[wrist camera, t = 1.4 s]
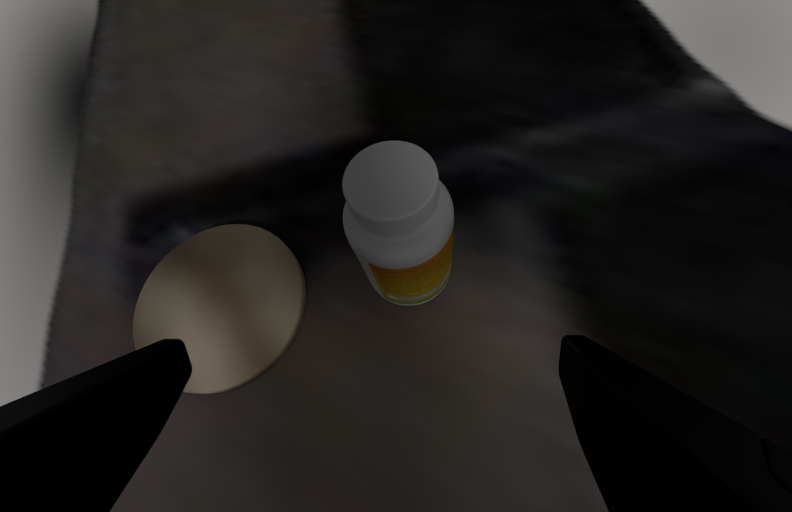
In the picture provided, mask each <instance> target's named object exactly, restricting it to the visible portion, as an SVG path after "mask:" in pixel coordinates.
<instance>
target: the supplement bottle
mask: <svg viewBox="0 0 792 512" xmlns="http://www.w3.org/2000/svg"><path fill="white" fill-rule="evenodd" d="M342 188H343V194H344V197H345V199H346V203H345V205H344V210H343V226H344V231H345V234H346V237H347V239H348V242H349V244H350V246H351V247H352V249H353V251H354V253H355V255H356V257H357V259H358V260H359V262H360V264H361V266H362V268H363V270H364V272H365V274H366V276H367V277H368V279H369V281H370V283H371V285H372V286H373V288H374V289H375V290H376V292H377V293H378V294H379V295H380V296H382V297H383V298H384V299H386V300H388V301H390V302H392V303H395V304H398V305H404V306H414V305H419V304H423V303H425V302H428V301H429V300H431V299H433V298H434V297H436V296H437V295H438V294H439V293H440V292H441V291H442V290H443V289H444V287H445V286H446V284H447V282H448V280H449V277H450V274H451V268H452V249H453V229H454V209H453V203H452V200H451V197H450V194H449V192H448V190H447V189H446V187H445V186H444V185H443V183H442V182H441V181H440V180H439V177H438V170H437V167H436V164H435V162H434V160H433V159H432V157H431V156H430V155H429V154H428V153H427V152H426V151H425V150H424V149H422V148H421V147H419V146H417V145H415V144H412V143H409V142H405V141H383V142H379V143H376V144H373V145H371V146H369V147H367V148H365V149H363V150H362V151H361V152H359V153H358V154H357V155H356V156H355V157H354V158H353V159H352V160H351V161H350V163H349V164H348V166H347V168H346V170H345V173H344V176H343V182H342Z"/></svg>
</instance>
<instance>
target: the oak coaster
mask: <svg viewBox="0 0 792 512" xmlns="http://www.w3.org/2000/svg"><path fill="white" fill-rule="evenodd" d="M305 305H306V283H305V278H304V274H303V270H302V268H301V266H300V263H299V261H298V260H297V258H296V257H295V255H294V254H293V253H292V251H291V250H290V249H289V248H288V247H287V246H286V245H285V244H284V242H283V241H281V240H280V239H279V238H278V237H277V236H275V235H274V234H272V233H271V232H269V231H267V230H264V229H262V228H260V227H256V226H252V225H245V224H229V225H221V226H217V227H213V228H210V229H207V230H204V231H202V232H200V233H197V234H195V235H193V236H191V237H190V238H188V239H186V240H185V241H183V242H182V243H180V244H179V245H178V246H176V247H175V248H174V249H173V250H172V251H170V252H169V253H168V254H167V255H166V256H165V257H164V258H163V259H162V260H161V261H160V263H159V264H158V265H157V266H156V268H155V269H154V270H153V272H152V273H151V274H150V276H149V278H148V279H147V281H146V283H145V284H144V287H143V289H142V291H141V293H140V296H139V298H138V301H137V304H136V309H135V313H134V320H133V338H134V344H135V348H136V350H138V349H141V348H143V347H145V346H148V345H150V344H153V343H155V342H158V341H160V340H163V339H180V340H182V341H183V342H184V344H185V346H186V349H187V352H188V355H189V358H190V361H191V364H192V374H191V377H190V379H189V381H188V382H187V384H186V386H185V388H184V390H183V392H187V393H197V394H216V393H223V392H227V391H231V390H234V389H237V388H239V387H242V386H244V385H246V384H248V383H250V382H252V381H254V380H255V379H257V378H258V377H260V376H261V375H262V374H264V373H265V372H266V371H268V370H269V369H270V368H271V367H272V366H273V365H274V364H275V363H276V362H277V361H278V360H279V359H280V358H281V357H282V356H283V354H284V353H285V352H286V350H287V349H288V348H289V346H290V345H291V343H292V341H293V339H294V338H295V336H296V334H297V332H298V329H299V327H300V325H301V322H302V318H303V315H304V311H305Z"/></svg>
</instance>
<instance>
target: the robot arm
mask: <svg viewBox="0 0 792 512" xmlns="http://www.w3.org/2000/svg"><path fill="white" fill-rule="evenodd" d="M191 374H192V364H191V361H190V358H189V355H188V352H187V349H186V346H185V344H184V342H183V341H182V340H180V339H163V340H160V341H158V342H155V343H153V344H150V345H148V346H145V347H143V348H141V349H138V350H136V351H133V352H131V353H129V354H126V355H124V356H121V357H119V358H116V359H114V360H112V361H109V362H107V363H104V364H102V365H100V366H97V367H95V368H92V369H90V370H88V371H85V372H83V373H80V374H78V375H75V376H73V377H71V378H68V379H66V380H63V381H61V382H59V383H56V384H54V385H51V386H49V387H46V388H44V389H42V390H39V391H37V392H34V393H32V394H30V395H27V396H25V397H22V398H20V399H18V400H15V401H13V402H10V403H8V404H6V405H3V406H1V407H0V512H110V510H111V508H112V507H113V505H114V504H115V502H116V501H117V499H118V498H119V496H120V495H121V493H122V492H123V490H124V489H125V487H126V485H127V484H128V482H129V481H130V479H131V478H132V476H133V475H134V473H135V472H136V470H137V469H138V467H139V465H140V464H141V462H142V461H143V459H144V458H145V456H146V455H147V453H148V452H149V450H150V449H151V447H152V446H153V444H154V442H155V441H156V439H157V438H158V436H159V434H160V433H161V431H162V429H163V427H164V426H165V424H166V422H167V420H168V418H169V416H170V414H171V412H172V411H173V409H174V407H175V405H176V403H177V401H178V399H179V397H180V396H181V394H182V392H183V390H184V388H185V386H186V384H187V382H188V381H189V379H190V377H191ZM559 376H560V380H561V383H562V387H563V390H564V393H565V396H566V400H567V403H568V406H569V410H570V413H571V416H572V420H573V423H574V426H575V430H576V433H577V436H578V439H579V442H580V445H581V447H582V450H583V452H584V455H585V457H586V459H587V462H588V464H589V466H590V469H591V471H592V473H593V476H594V478H595V480H596V483H597V485H598V487H599V490H600V492H601V494H602V497H603V499H604V501H605V504H606V506H607V508H608V511H609V512H792V453H790V452H789V451H787V450H785V449H783V448H782V447H780V446H778V445H776V444H775V443H773V442H771V441H769V440H768V439H765V438H762V439H761V437H760V436H759V435H758V434H757V433H755V432H753V431H751V430H750V429H748V428H746V427H744V426H743V425H741V424H739V423H737V422H736V421H734V420H732V419H730V418H728V417H727V416H725V415H723V414H721V413H720V412H718V411H716V410H714V409H713V408H711V407H709V406H707V405H705V404H704V403H702V402H700V401H698V400H697V399H695V398H693V397H691V396H690V395H688V394H686V393H684V392H682V391H681V390H679V389H677V388H675V387H674V386H672V385H670V384H668V383H667V382H665V381H663V380H661V379H659V378H658V377H656V376H654V375H652V374H651V373H649V372H647V371H645V370H644V369H642V368H640V367H638V366H636V365H635V364H633V363H631V362H629V361H628V360H626V359H624V358H622V357H621V356H619V355H617V354H615V353H613V352H612V351H610V350H608V349H606V348H605V347H603V346H601V345H599V344H598V343H596V342H594V341H592V340H590V339H589V338H587V337H585V336H582V335H566V336H564V337H563V338H562V341H561V349H560V358H559Z"/></svg>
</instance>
